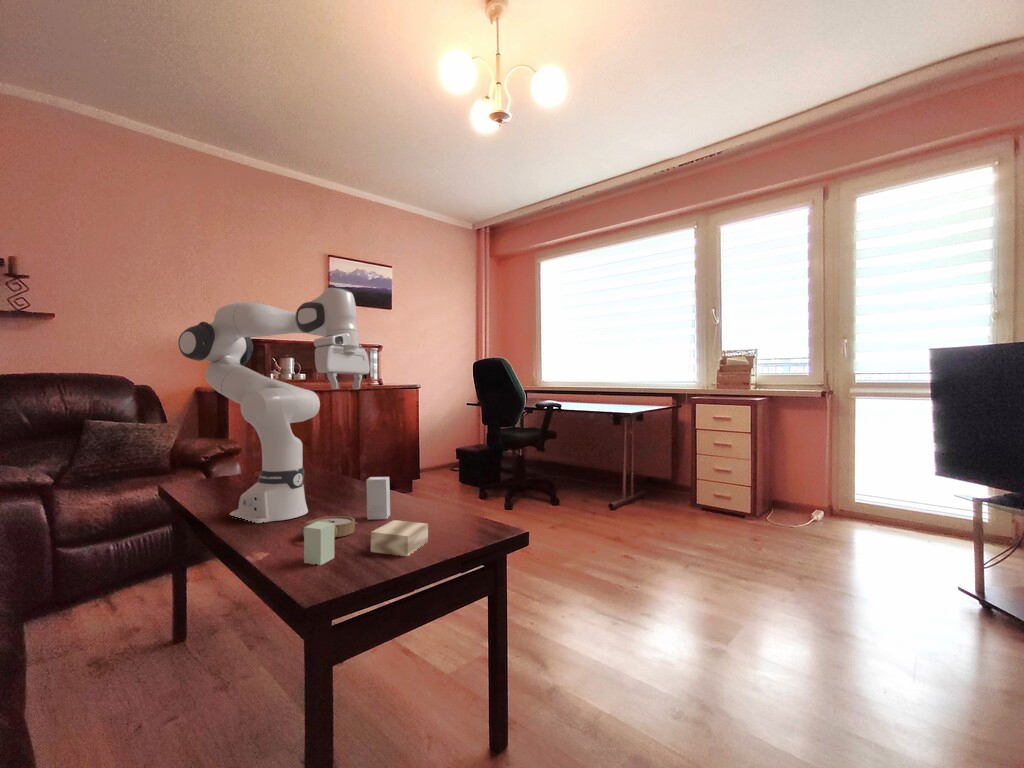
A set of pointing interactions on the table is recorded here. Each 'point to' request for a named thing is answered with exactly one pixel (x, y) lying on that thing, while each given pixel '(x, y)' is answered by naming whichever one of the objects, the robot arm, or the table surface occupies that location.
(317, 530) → the sage block
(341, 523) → the alarm clock
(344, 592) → the table surface
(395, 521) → the birch block
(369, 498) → the skincare box
